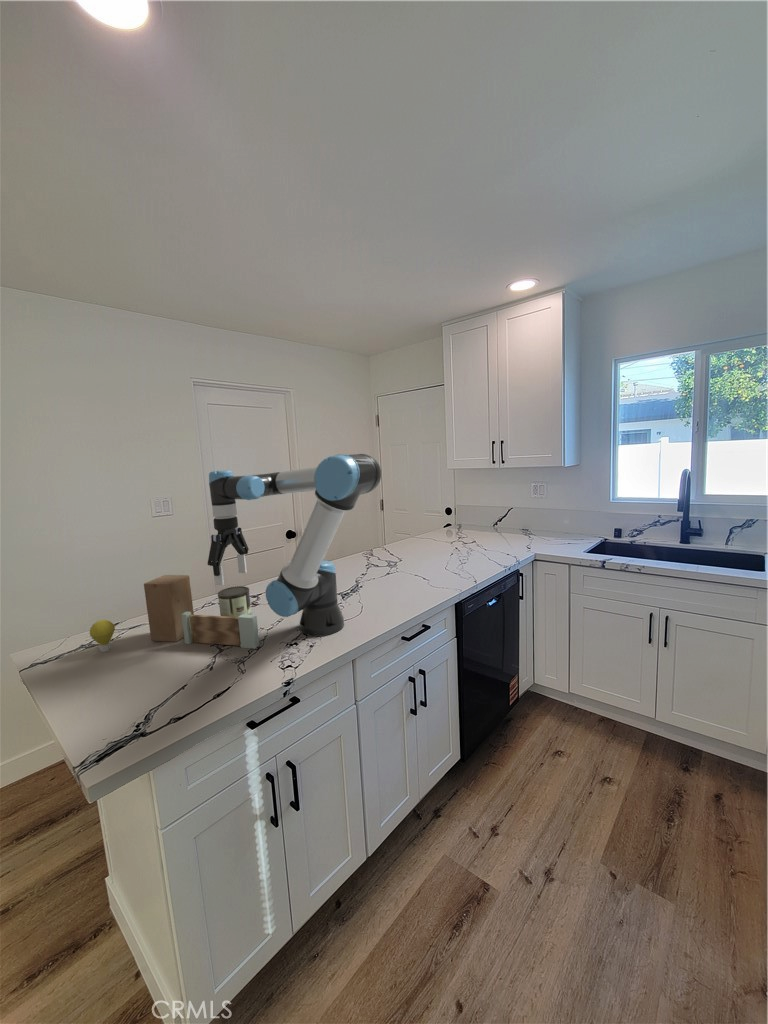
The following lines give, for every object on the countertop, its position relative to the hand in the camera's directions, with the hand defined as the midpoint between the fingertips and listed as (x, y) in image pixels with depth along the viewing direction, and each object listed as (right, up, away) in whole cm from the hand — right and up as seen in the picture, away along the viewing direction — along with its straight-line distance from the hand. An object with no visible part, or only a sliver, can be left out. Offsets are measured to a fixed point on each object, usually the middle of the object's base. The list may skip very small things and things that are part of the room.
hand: (231, 578), depth 143 cm
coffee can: (+1, -18, +3) cm, 19 cm away
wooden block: (-20, -20, +1) cm, 28 cm away
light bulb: (-38, -22, -8) cm, 44 cm away
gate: (-2, -20, -8) cm, 21 cm away
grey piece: (0, -20, -8) cm, 21 cm away
